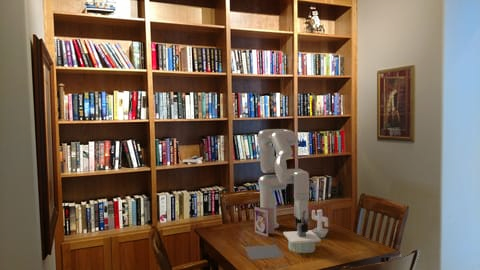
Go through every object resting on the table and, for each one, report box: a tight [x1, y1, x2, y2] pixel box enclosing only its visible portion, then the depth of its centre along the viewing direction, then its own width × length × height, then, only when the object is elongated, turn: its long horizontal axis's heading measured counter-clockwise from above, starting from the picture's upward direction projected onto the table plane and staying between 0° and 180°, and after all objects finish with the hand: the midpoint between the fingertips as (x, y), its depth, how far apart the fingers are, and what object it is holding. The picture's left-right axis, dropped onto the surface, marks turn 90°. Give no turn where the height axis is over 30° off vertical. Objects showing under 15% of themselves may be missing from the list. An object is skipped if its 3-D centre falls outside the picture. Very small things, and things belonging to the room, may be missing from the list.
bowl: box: [287, 239, 316, 254], centre depth 193 cm, size 13×13×6 cm
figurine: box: [311, 208, 329, 239], centre depth 211 cm, size 7×9×15 cm
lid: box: [282, 223, 322, 244], centre depth 192 cm, size 15×15×7 cm
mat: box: [244, 244, 285, 261], centre depth 189 cm, size 17×17×1 cm
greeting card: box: [254, 206, 275, 237], centre depth 218 cm, size 11×7×15 cm, turn 37°
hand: (301, 228), depth 192 cm, fingers open, 9 cm apart
